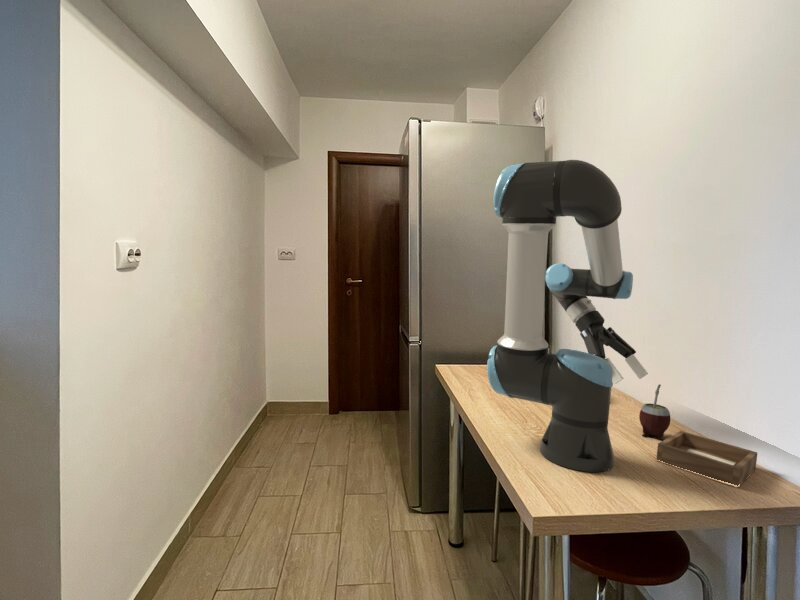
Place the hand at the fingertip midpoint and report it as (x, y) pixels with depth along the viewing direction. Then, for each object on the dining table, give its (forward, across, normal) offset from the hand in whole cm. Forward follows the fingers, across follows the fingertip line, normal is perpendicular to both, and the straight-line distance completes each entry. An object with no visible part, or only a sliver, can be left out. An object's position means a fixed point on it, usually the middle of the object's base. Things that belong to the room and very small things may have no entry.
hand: (631, 379), depth 120 cm
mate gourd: (+15, 0, +5) cm, 16 cm away
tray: (+25, -8, -6) cm, 27 cm away
